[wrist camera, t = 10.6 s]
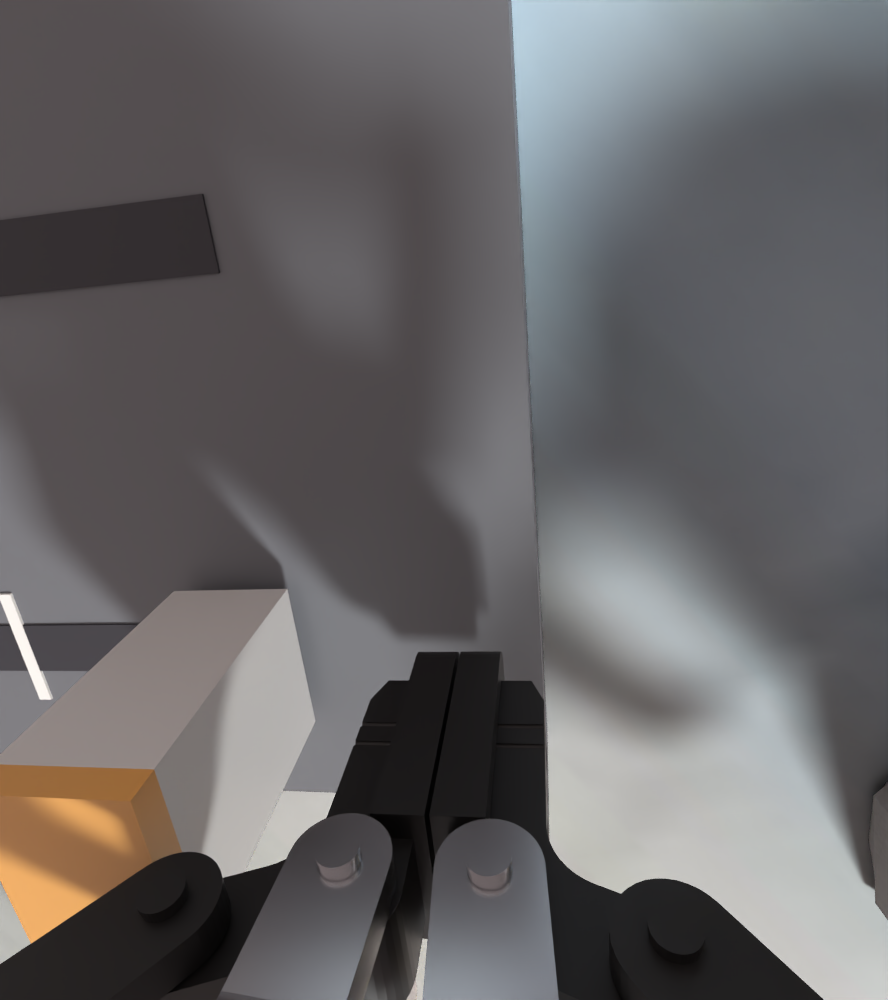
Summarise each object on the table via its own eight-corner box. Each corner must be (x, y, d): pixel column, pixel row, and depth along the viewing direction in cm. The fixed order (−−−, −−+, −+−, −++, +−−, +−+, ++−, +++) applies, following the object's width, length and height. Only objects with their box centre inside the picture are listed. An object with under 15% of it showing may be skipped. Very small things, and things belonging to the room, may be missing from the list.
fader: (287, 589, 12) (129, 800, 8) (315, 721, 13) (194, 977, 9) (173, 590, 13) (-43, 793, 8) (210, 719, 14) (41, 964, 9)
